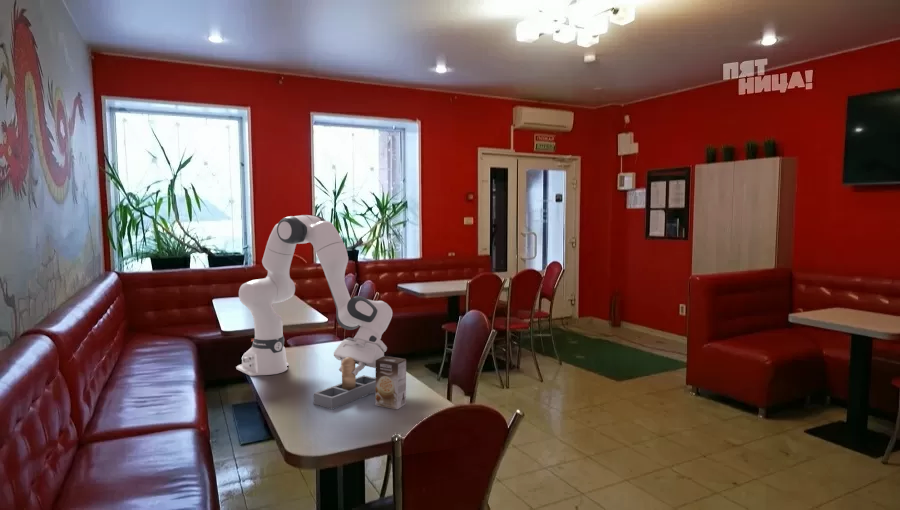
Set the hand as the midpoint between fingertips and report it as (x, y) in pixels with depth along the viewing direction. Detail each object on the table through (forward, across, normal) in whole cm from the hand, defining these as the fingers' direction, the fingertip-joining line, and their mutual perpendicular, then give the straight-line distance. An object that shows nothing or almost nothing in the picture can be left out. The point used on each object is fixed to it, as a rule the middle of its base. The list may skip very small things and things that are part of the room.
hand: (347, 372), depth 192 cm
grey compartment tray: (+6, 0, +7) cm, 9 cm away
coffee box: (+4, +18, +8) cm, 20 cm away
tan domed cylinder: (+4, 0, +5) cm, 6 cm away
